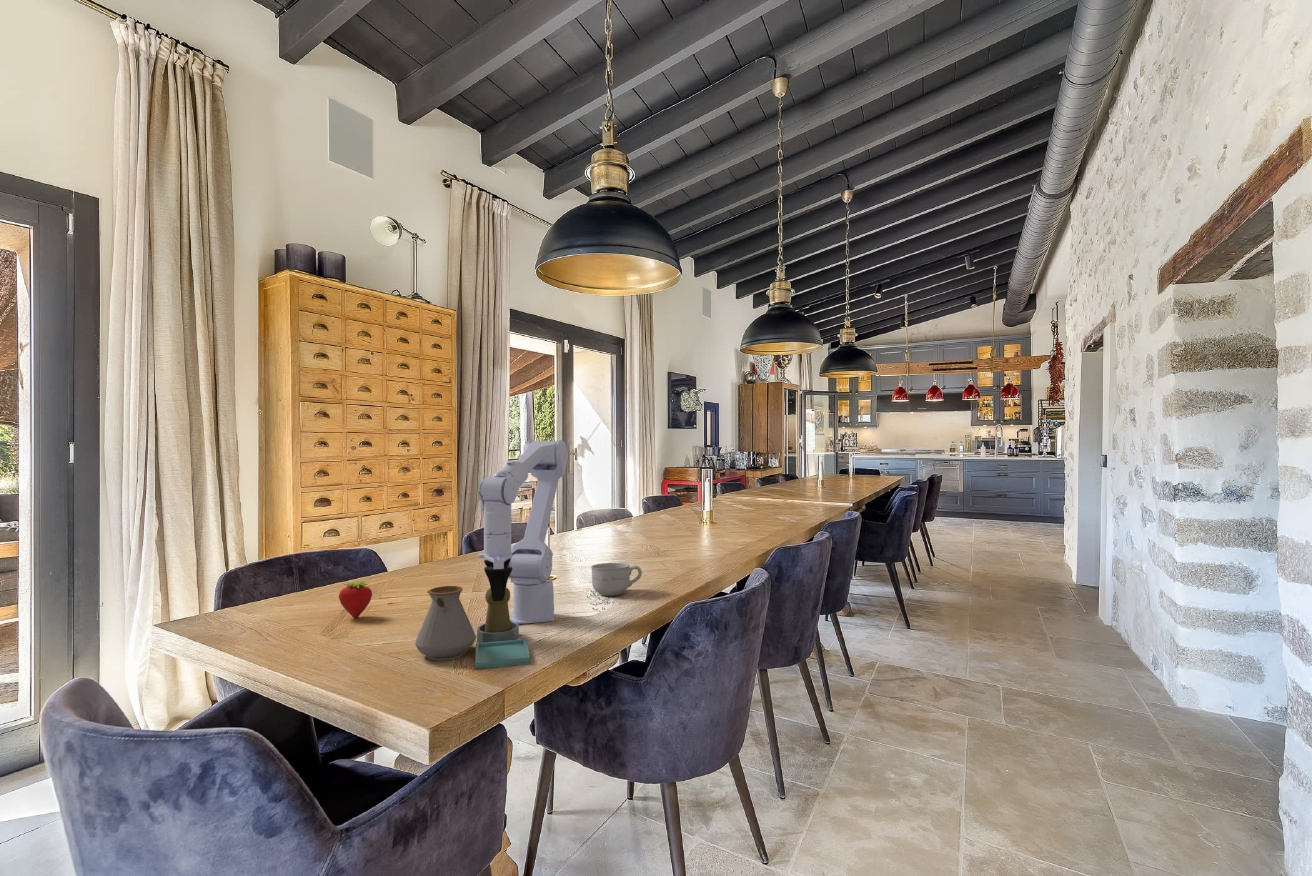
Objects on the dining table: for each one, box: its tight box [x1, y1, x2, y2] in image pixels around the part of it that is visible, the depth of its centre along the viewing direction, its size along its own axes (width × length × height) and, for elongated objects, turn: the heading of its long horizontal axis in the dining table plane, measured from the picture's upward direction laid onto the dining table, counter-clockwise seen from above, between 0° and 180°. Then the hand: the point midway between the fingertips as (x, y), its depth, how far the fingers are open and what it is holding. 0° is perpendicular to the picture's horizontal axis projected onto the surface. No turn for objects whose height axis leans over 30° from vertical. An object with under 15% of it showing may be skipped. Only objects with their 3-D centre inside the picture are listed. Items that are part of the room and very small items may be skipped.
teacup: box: [590, 562, 643, 596], centre depth 167 cm, size 14×11×8 cm
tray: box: [474, 638, 531, 670], centre depth 119 cm, size 10×11×1 cm
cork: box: [484, 587, 511, 633], centre depth 130 cm, size 6×6×11 cm
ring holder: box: [476, 620, 520, 643], centre depth 130 cm, size 9×9×2 cm
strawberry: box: [338, 581, 373, 619], centre depth 145 cm, size 6×8×10 cm
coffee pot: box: [415, 585, 477, 661], centre depth 116 cm, size 21×12×15 cm, turn 14°
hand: (497, 596), depth 130 cm, fingers open, 7 cm apart
